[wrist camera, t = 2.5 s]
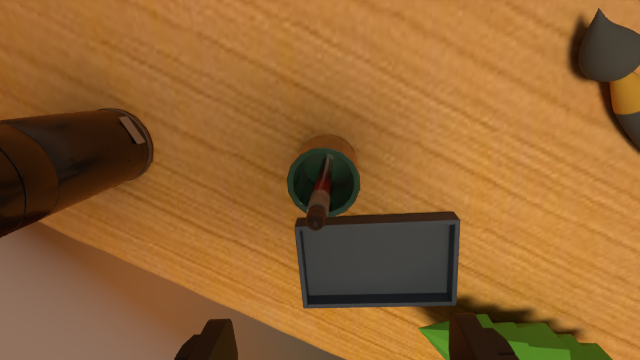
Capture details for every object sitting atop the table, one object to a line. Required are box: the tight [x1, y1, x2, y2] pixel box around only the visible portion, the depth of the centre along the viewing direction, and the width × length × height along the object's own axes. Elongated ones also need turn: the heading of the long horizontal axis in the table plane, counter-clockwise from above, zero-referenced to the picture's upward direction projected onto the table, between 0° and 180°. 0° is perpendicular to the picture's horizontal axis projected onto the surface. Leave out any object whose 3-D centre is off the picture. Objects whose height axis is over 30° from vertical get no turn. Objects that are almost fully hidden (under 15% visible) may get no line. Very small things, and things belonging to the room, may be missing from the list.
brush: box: [306, 158, 333, 231], centre depth 31 cm, size 2×2×18 cm
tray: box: [295, 212, 460, 308], centre depth 42 cm, size 20×12×3 cm, turn 95°
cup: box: [287, 134, 360, 217], centre depth 36 cm, size 7×7×9 cm
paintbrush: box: [578, 8, 640, 149], centre depth 33 cm, size 20×5×5 cm, turn 45°
